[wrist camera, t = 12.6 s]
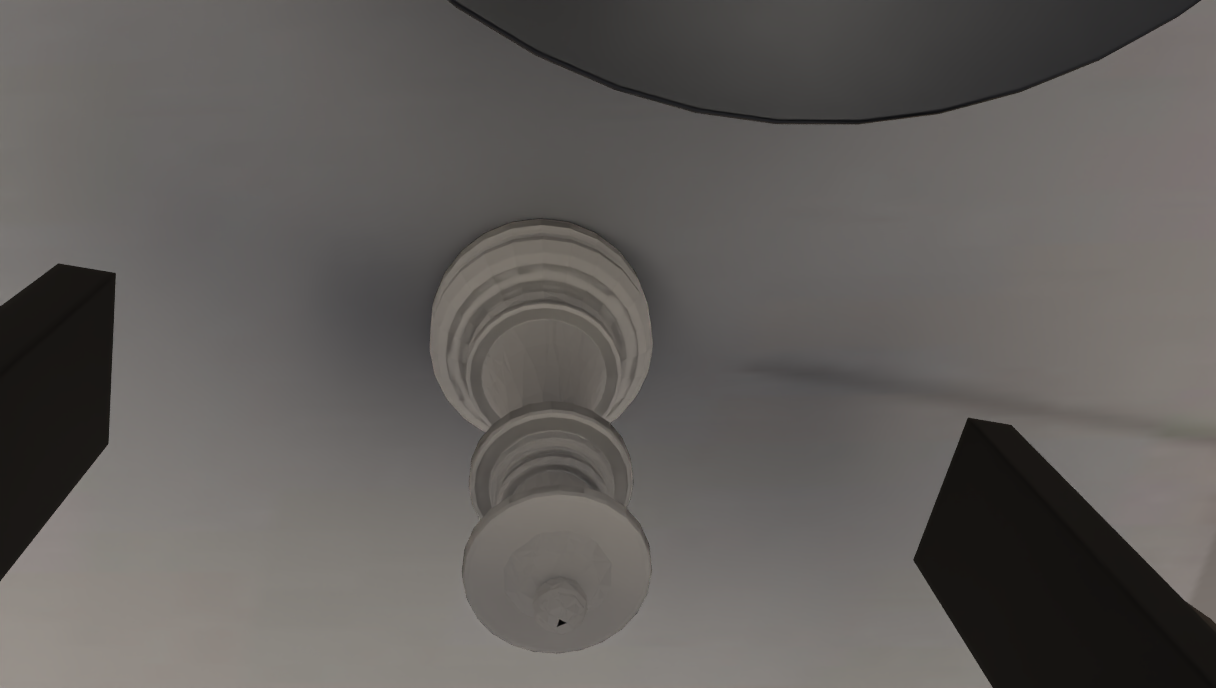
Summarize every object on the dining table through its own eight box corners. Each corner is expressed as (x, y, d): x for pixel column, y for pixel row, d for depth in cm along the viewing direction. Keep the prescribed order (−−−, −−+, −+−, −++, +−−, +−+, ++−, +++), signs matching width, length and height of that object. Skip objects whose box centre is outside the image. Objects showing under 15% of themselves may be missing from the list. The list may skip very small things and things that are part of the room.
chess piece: (686, 282, 21) (824, 554, 12) (577, 449, 22) (623, 817, 13) (498, 175, 20) (484, 382, 10) (394, 358, 21) (298, 688, 12)
